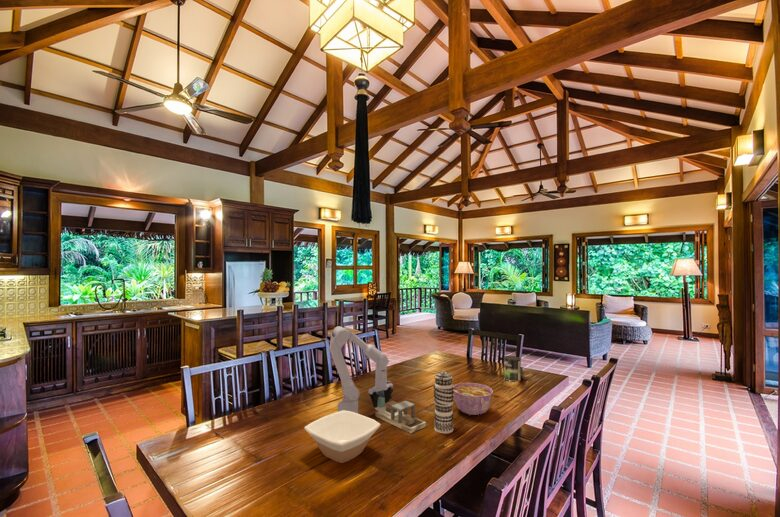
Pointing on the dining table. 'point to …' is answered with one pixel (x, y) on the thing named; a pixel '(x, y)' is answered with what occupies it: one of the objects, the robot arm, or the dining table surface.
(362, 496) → the dining table surface
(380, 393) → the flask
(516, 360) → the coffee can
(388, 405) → the walnut block
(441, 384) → the white patterned tall cylinder
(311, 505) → the dining table surface
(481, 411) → the bowl of food
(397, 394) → the dining table surface
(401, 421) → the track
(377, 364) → the robot arm
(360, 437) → the bowl
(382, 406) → the block
